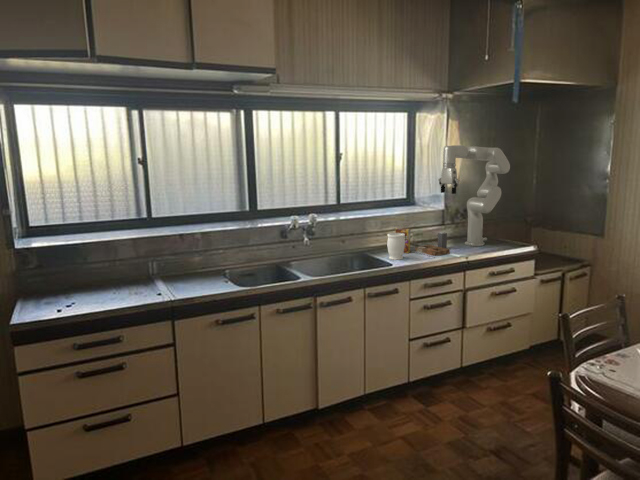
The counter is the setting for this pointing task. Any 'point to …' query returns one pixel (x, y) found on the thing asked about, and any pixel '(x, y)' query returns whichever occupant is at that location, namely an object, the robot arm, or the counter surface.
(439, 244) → the grey rectangular block
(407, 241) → the candy box
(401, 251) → the jar
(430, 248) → the socket block
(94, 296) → the counter surface
